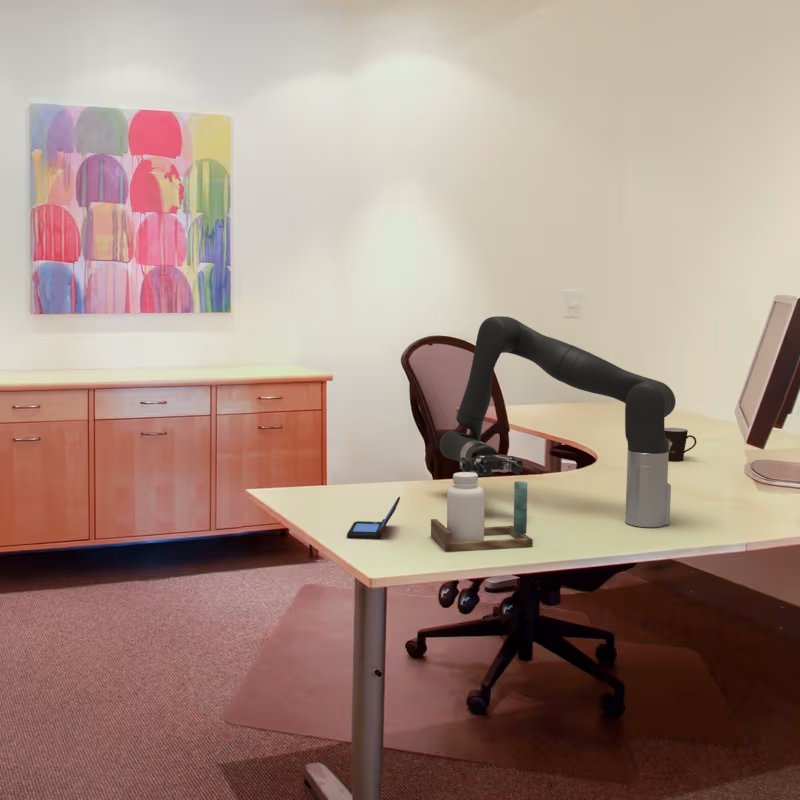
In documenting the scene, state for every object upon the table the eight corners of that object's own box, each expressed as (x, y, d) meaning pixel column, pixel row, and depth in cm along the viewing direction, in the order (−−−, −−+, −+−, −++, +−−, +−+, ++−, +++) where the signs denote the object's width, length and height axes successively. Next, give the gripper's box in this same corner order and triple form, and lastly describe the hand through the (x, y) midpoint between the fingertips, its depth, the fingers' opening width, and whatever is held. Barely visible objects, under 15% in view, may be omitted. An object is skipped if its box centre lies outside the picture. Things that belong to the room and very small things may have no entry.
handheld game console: (354, 525, 217) (354, 494, 217) (400, 527, 216) (400, 495, 216) (345, 539, 205) (345, 506, 204) (394, 541, 204) (395, 507, 203)
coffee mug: (653, 458, 309) (654, 428, 307) (676, 457, 311) (677, 427, 310) (674, 464, 298) (675, 433, 296) (697, 463, 300) (699, 432, 299)
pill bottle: (438, 542, 202) (439, 473, 200) (463, 536, 208) (464, 469, 206) (466, 550, 197) (467, 479, 195) (491, 543, 202) (492, 474, 200)
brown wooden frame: (516, 532, 211) (517, 477, 210) (536, 546, 199) (537, 488, 198) (430, 537, 207) (431, 480, 205) (446, 551, 195) (446, 492, 193)
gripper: (451, 443, 229) (471, 455, 213) (507, 442, 232) (531, 453, 217) (450, 473, 230) (470, 487, 214) (506, 472, 233) (529, 485, 217)
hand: (501, 470), depth 215 cm, fingers open, 8 cm apart
